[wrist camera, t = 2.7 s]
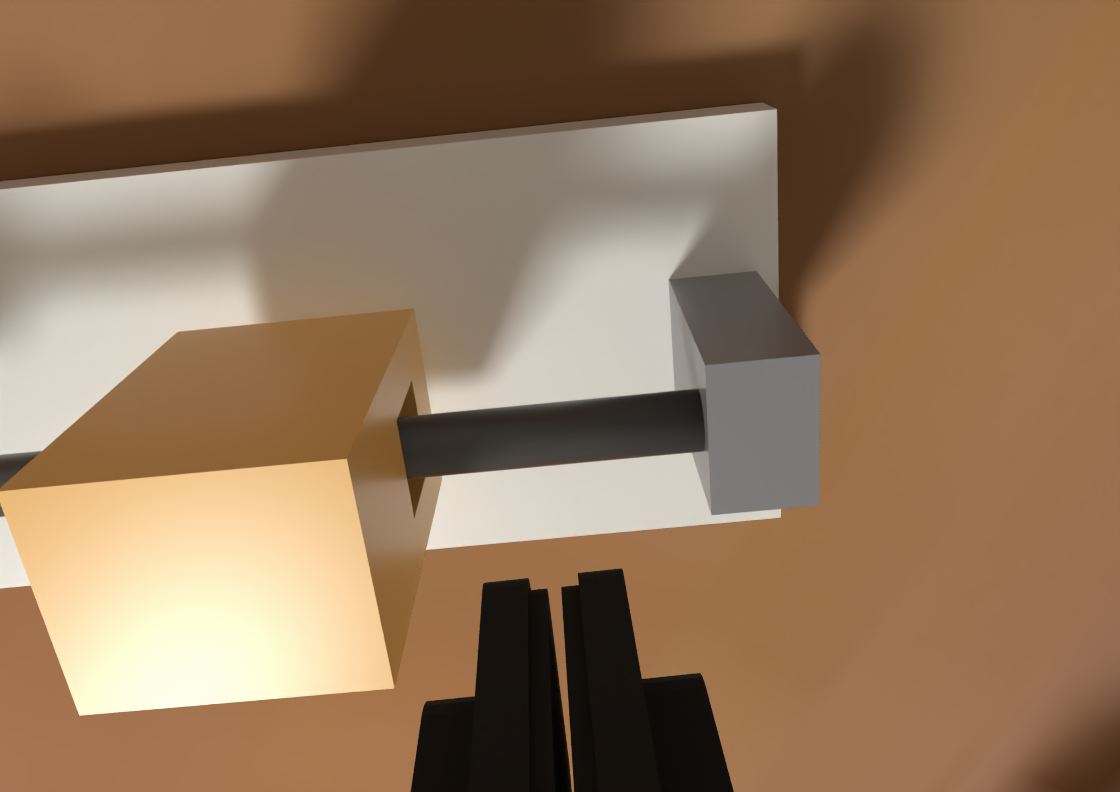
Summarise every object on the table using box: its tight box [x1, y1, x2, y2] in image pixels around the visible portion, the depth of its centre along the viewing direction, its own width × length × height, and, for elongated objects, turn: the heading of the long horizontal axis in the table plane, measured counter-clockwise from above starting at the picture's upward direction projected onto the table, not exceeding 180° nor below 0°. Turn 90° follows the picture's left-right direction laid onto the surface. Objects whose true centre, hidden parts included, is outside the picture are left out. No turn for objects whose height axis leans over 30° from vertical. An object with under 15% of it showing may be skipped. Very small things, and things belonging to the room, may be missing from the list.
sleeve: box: [0, 308, 442, 715], centre depth 17 cm, size 5×4×7 cm
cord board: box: [0, 102, 820, 588], centre depth 20 cm, size 27×10×9 cm, turn 96°
